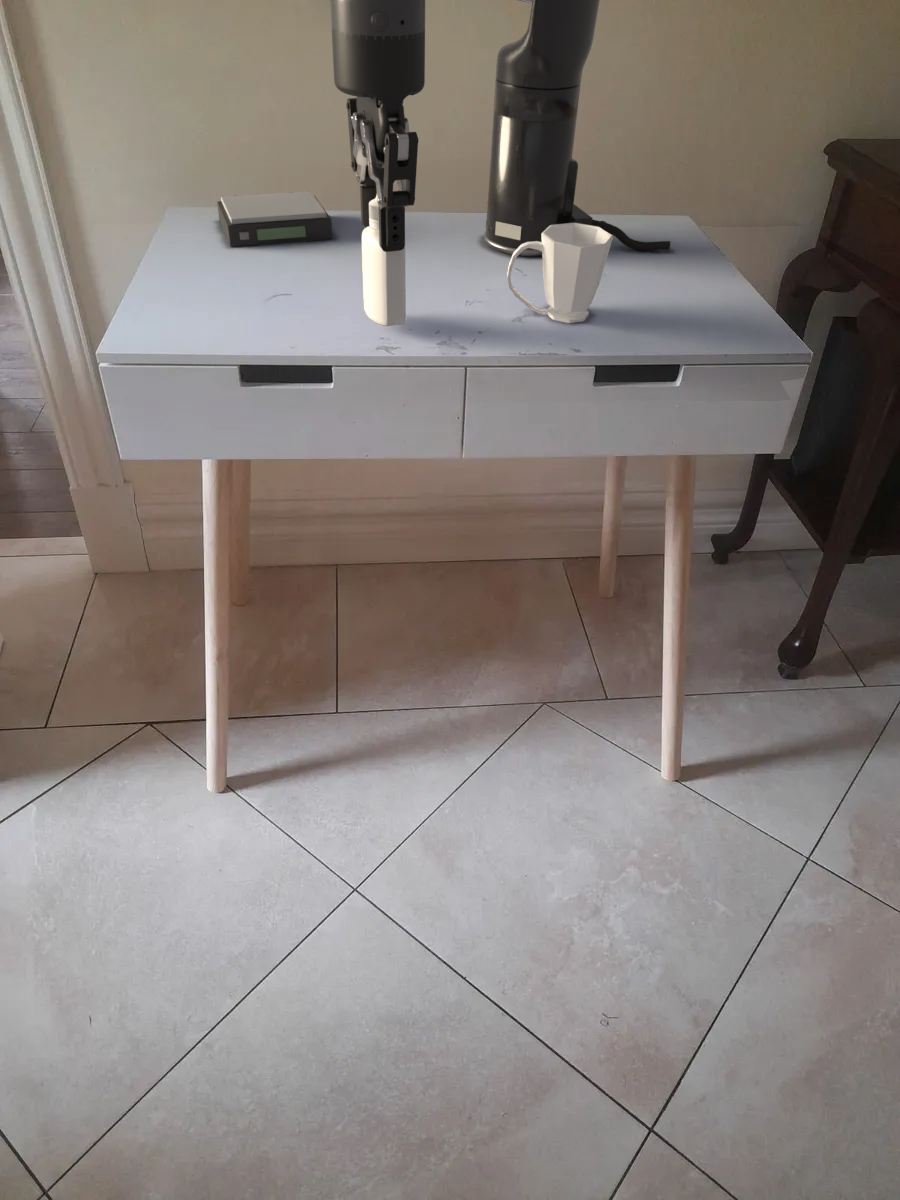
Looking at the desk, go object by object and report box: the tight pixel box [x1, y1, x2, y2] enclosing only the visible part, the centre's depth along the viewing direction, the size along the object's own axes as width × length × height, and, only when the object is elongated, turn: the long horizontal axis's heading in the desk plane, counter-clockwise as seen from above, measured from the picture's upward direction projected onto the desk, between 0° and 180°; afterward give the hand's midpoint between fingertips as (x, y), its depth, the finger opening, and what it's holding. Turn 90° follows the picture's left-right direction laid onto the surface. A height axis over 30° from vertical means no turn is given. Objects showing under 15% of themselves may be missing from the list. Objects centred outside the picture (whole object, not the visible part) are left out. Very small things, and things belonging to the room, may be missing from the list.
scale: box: [216, 190, 333, 248], centre depth 106 cm, size 12×9×3 cm
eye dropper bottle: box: [361, 196, 407, 327], centre depth 83 cm, size 4×6×12 cm
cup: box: [506, 223, 614, 324], centre depth 89 cm, size 7×10×8 cm
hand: (382, 237), depth 82 cm, fingers closed on eye dropper bottle, 5 cm apart
